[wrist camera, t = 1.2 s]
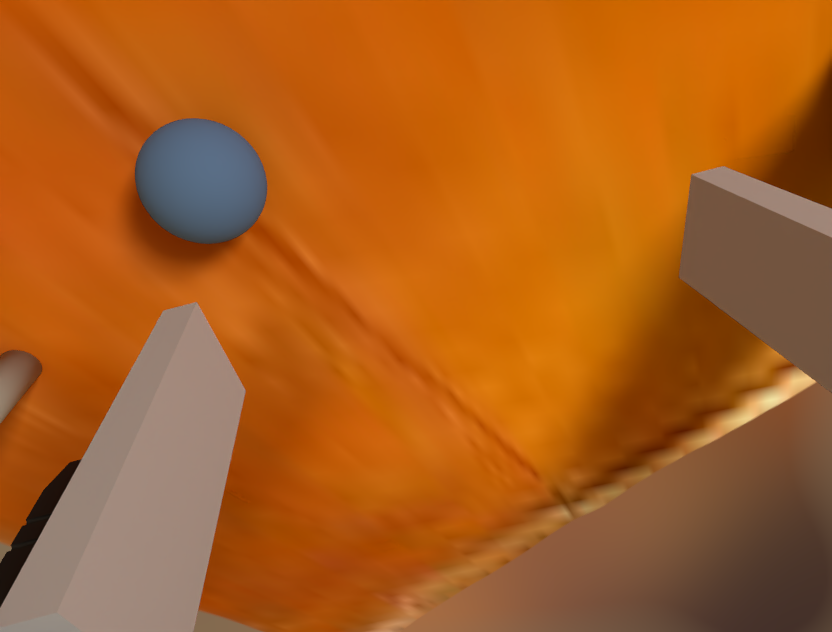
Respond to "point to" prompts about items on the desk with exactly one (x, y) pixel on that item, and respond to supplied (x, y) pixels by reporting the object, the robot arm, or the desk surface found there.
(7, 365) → the sage pin
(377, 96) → the desk surface
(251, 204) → the ball
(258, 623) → the desk surface
